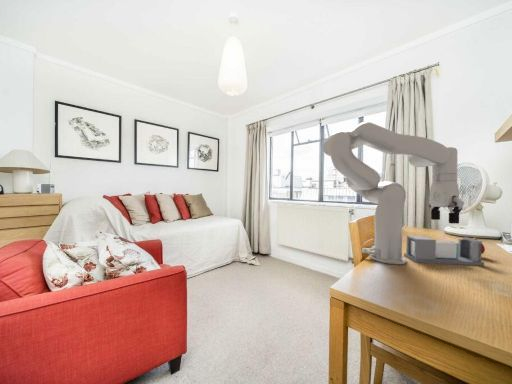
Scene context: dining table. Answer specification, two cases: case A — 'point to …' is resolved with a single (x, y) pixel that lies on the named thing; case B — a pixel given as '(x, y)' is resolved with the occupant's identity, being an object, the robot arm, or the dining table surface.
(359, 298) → the dining table surface
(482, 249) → the onion
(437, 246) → the grey rectangular block
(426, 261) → the board
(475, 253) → the socket
